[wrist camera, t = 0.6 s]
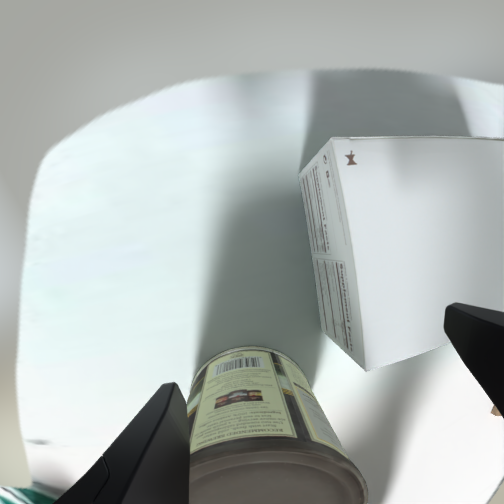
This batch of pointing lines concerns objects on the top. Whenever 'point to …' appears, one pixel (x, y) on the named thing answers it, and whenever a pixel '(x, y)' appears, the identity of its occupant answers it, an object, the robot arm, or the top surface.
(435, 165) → the supplement box
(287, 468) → the coffee can
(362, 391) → the top surface
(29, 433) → the top surface
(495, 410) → the pump canister
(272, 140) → the top surface
